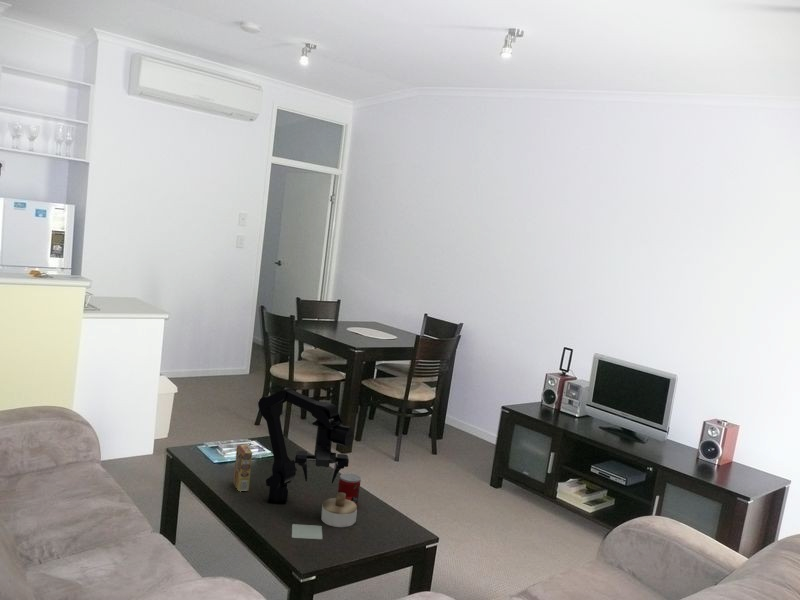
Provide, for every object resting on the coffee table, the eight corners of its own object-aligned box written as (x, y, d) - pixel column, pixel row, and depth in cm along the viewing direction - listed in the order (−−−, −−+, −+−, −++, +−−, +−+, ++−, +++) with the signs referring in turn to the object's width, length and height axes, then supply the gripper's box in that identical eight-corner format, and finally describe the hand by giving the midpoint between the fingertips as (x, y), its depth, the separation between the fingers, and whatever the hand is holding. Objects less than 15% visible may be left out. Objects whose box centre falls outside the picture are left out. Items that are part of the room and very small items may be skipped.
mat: (291, 538, 222) (291, 537, 222) (292, 525, 232) (292, 524, 232) (322, 540, 224) (322, 539, 224) (321, 527, 234) (321, 525, 234)
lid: (323, 513, 233) (324, 499, 233) (322, 499, 245) (323, 486, 245) (357, 515, 235) (359, 501, 235) (355, 501, 247) (356, 488, 246)
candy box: (248, 491, 256) (253, 452, 254) (237, 492, 254) (241, 452, 252) (243, 483, 264) (247, 444, 262) (232, 483, 262) (236, 445, 260)
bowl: (321, 527, 234) (323, 513, 233) (320, 512, 246) (322, 499, 245) (356, 529, 236) (357, 515, 235) (353, 514, 247) (355, 501, 247)
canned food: (354, 511, 250) (357, 482, 249) (333, 506, 252) (337, 478, 251) (359, 503, 258) (363, 475, 257) (339, 499, 259) (342, 471, 258)
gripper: (297, 444, 231) (292, 488, 233) (351, 448, 234) (346, 492, 236) (297, 434, 242) (292, 477, 244) (349, 438, 245) (344, 480, 247)
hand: (319, 482), depth 242 cm, fingers open, 9 cm apart
